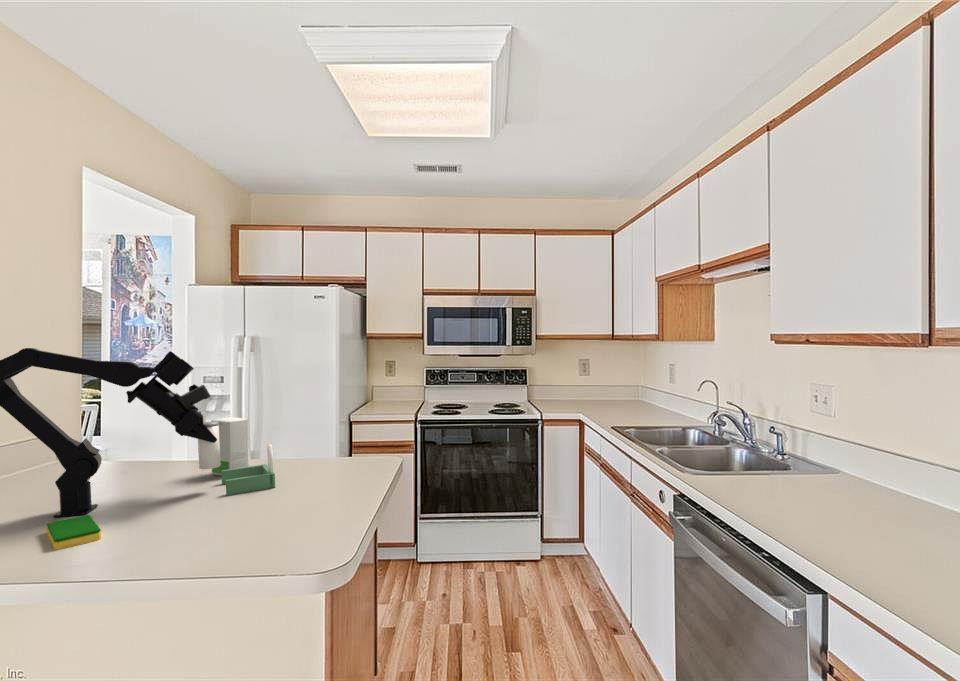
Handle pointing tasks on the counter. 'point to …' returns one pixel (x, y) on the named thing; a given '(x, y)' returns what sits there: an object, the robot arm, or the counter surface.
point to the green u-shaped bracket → (250, 477)
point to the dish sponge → (73, 532)
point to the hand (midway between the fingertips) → (214, 439)
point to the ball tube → (209, 448)
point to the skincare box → (232, 443)
